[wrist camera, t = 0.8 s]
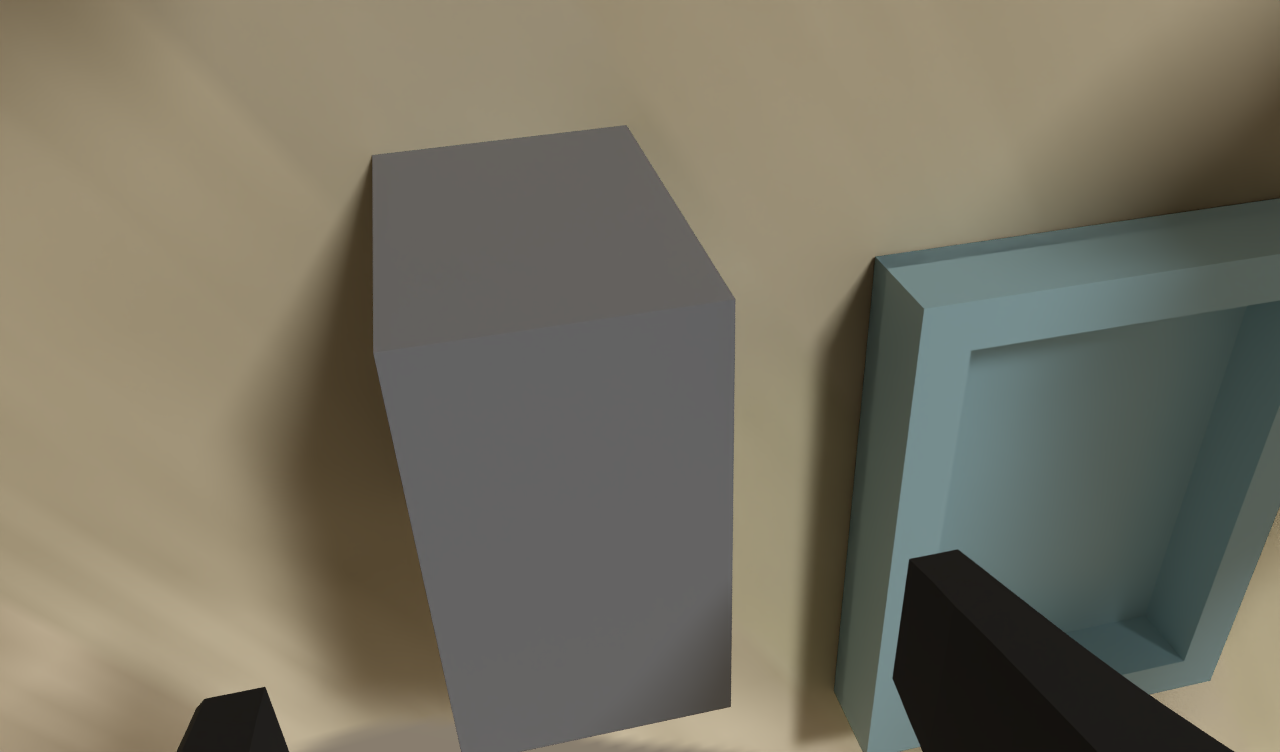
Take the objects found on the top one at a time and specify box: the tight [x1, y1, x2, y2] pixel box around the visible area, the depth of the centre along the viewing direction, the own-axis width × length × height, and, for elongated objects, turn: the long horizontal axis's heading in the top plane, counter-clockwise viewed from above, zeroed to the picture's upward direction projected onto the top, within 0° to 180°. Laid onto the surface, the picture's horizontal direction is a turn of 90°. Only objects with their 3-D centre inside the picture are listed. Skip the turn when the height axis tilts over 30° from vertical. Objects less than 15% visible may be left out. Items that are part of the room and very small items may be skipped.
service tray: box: [834, 198, 1280, 752], centre depth 22 cm, size 9×12×2 cm
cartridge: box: [372, 125, 735, 752], centre depth 16 cm, size 4×7×6 cm, turn 3°
